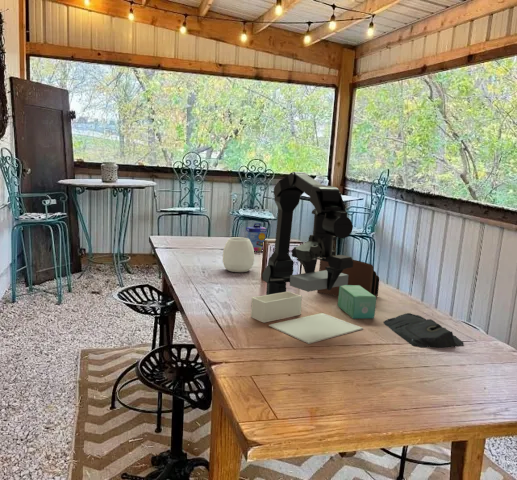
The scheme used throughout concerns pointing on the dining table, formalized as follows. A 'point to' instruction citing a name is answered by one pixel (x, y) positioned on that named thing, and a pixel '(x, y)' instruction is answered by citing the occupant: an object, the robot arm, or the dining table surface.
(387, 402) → the dining table surface
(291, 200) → the robot arm
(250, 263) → the cream rounded pot
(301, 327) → the pale cream mat
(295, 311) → the base
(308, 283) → the grey rectangular block
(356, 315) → the box
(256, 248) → the ink cartridge box
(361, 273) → the letter holder
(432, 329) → the dark slate chunk
